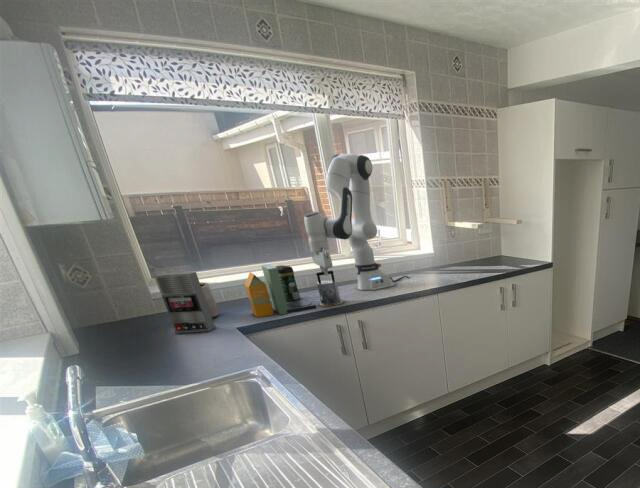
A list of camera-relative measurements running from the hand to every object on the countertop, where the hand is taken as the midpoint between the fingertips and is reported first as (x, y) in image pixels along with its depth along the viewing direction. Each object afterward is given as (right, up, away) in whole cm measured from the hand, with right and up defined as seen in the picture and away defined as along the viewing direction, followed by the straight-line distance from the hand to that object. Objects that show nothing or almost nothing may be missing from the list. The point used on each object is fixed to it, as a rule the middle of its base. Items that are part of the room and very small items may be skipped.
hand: (325, 274), depth 218 cm
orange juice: (-27, -22, -8) cm, 36 cm away
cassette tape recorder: (-44, -33, -31) cm, 63 cm away
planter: (-56, -25, -13) cm, 63 cm away
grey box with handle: (+1, -14, +5) cm, 15 cm away
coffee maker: (-15, -17, 0) cm, 23 cm away
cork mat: (0, -14, +7) cm, 15 cm away
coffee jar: (-26, -10, +16) cm, 32 cm away
